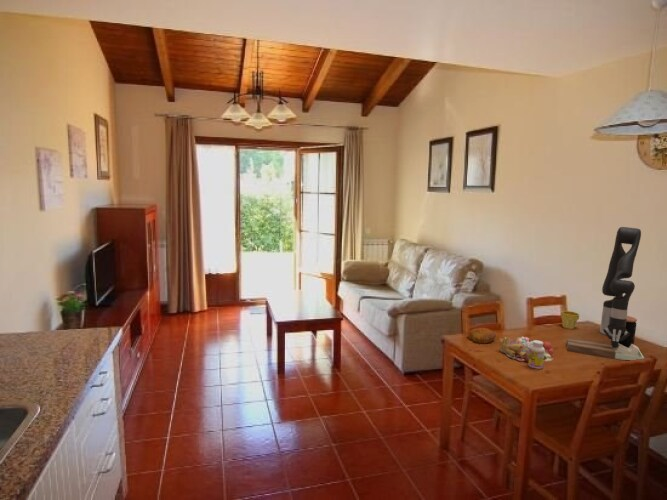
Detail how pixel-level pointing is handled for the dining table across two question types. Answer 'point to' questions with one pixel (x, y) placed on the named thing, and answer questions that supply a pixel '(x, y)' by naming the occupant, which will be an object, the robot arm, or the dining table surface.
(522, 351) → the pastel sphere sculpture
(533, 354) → the supplement bottle
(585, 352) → the board
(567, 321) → the plant pot
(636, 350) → the tile
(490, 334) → the round bread loaf
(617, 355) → the tray
